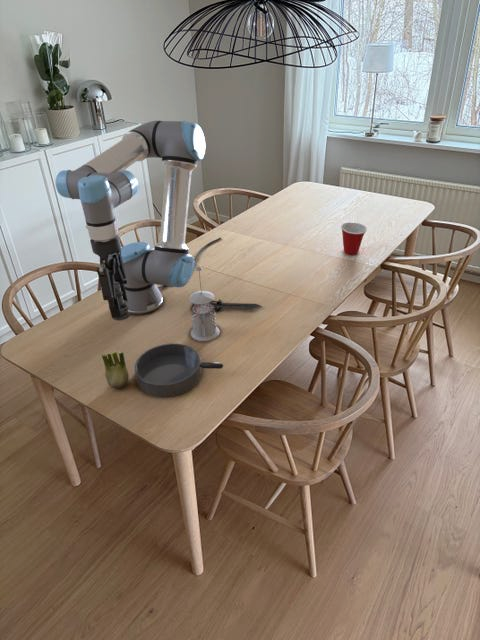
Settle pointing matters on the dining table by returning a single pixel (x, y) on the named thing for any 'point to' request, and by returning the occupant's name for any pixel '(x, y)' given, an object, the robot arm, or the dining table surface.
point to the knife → (232, 305)
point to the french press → (203, 315)
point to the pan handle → (211, 365)
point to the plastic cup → (352, 237)
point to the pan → (168, 370)
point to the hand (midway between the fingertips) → (120, 310)
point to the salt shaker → (121, 304)
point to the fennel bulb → (115, 369)
